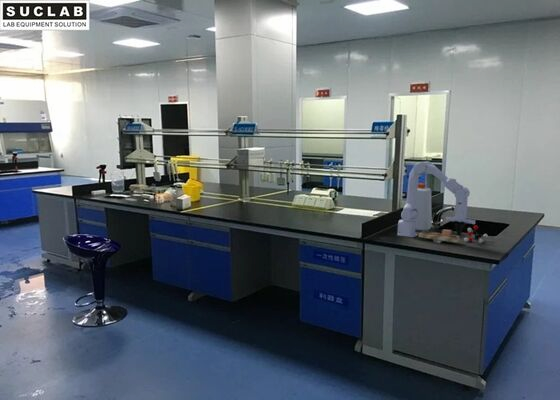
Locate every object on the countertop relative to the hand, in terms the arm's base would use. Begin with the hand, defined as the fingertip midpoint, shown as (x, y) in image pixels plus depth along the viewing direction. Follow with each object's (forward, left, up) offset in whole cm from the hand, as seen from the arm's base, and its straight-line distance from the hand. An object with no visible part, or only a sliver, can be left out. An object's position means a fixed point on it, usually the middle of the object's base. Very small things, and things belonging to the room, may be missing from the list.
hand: (459, 235), depth 229 cm
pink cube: (-6, 0, -2) cm, 7 cm away
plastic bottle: (-30, +25, -5) cm, 40 cm away
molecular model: (+6, +11, -5) cm, 14 cm away
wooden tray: (-10, 0, -5) cm, 12 cm away
